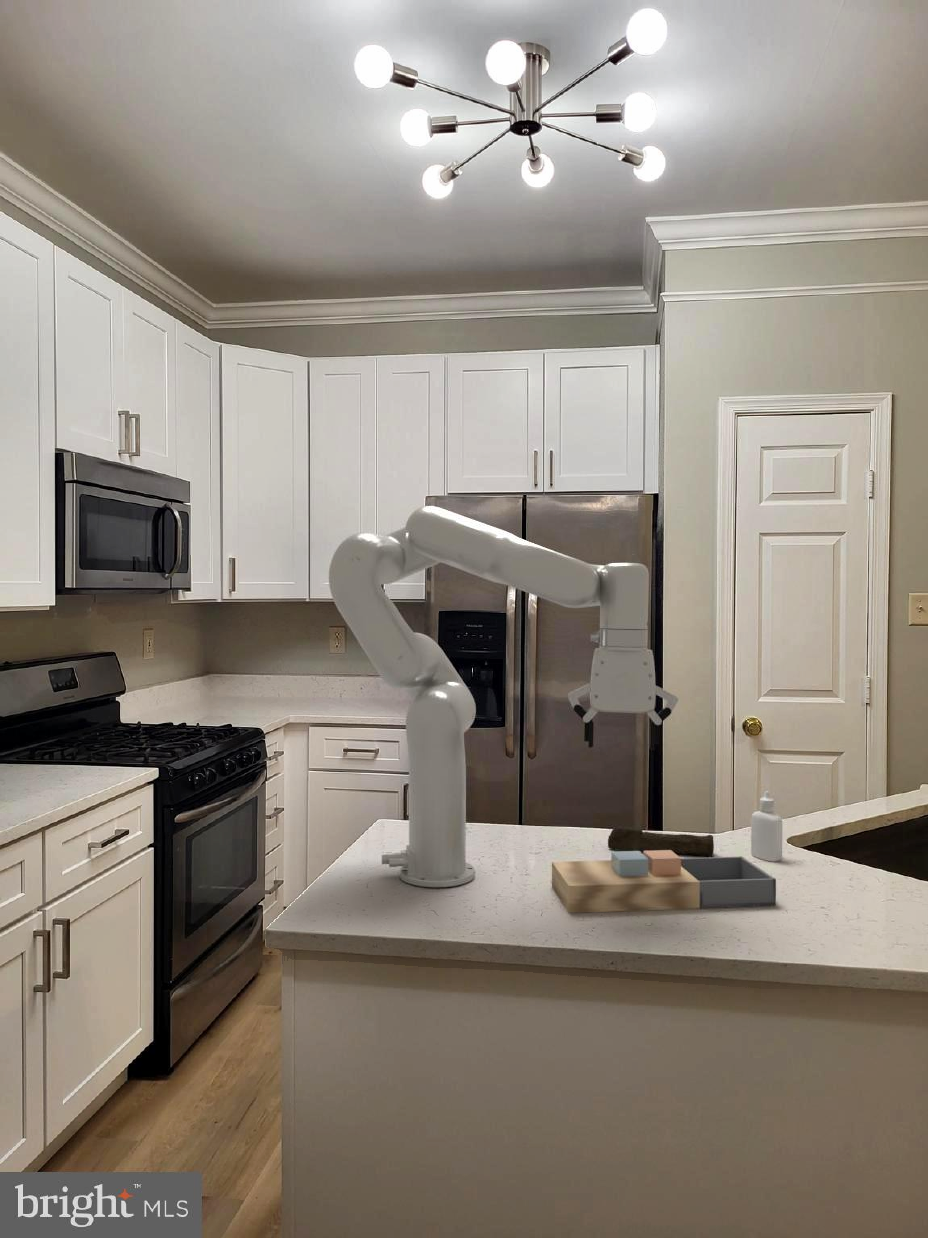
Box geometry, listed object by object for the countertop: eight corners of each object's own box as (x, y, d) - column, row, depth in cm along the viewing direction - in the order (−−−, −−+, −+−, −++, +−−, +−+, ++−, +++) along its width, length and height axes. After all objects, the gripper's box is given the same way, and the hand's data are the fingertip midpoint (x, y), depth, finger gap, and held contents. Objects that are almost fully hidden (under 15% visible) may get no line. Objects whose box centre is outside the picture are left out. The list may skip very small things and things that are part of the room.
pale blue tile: (619, 876, 132) (619, 860, 132) (611, 867, 137) (611, 851, 137) (648, 875, 133) (648, 859, 133) (638, 866, 137) (639, 851, 137)
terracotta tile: (652, 875, 133) (652, 859, 133) (643, 866, 137) (643, 850, 137) (680, 874, 133) (680, 858, 133) (670, 865, 138) (670, 850, 138)
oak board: (568, 913, 128) (569, 886, 127) (551, 886, 139) (551, 862, 139) (699, 908, 130) (699, 881, 130) (671, 883, 142) (671, 858, 142)
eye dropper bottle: (772, 853, 159) (772, 788, 159) (784, 862, 153) (785, 795, 153) (748, 853, 159) (749, 788, 159) (760, 862, 153) (760, 795, 153)
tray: (699, 908, 130) (699, 881, 130) (671, 883, 142) (671, 858, 142) (775, 905, 131) (775, 879, 131) (741, 880, 143) (742, 856, 143)
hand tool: (713, 854, 159) (713, 829, 159) (713, 860, 155) (714, 834, 155) (609, 847, 164) (609, 822, 164) (607, 852, 160) (607, 827, 160)
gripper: (568, 640, 135) (566, 749, 135) (681, 642, 133) (679, 754, 133) (569, 638, 143) (567, 741, 143) (676, 640, 140) (674, 746, 140)
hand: (621, 747), depth 138 cm, fingers open, 9 cm apart
